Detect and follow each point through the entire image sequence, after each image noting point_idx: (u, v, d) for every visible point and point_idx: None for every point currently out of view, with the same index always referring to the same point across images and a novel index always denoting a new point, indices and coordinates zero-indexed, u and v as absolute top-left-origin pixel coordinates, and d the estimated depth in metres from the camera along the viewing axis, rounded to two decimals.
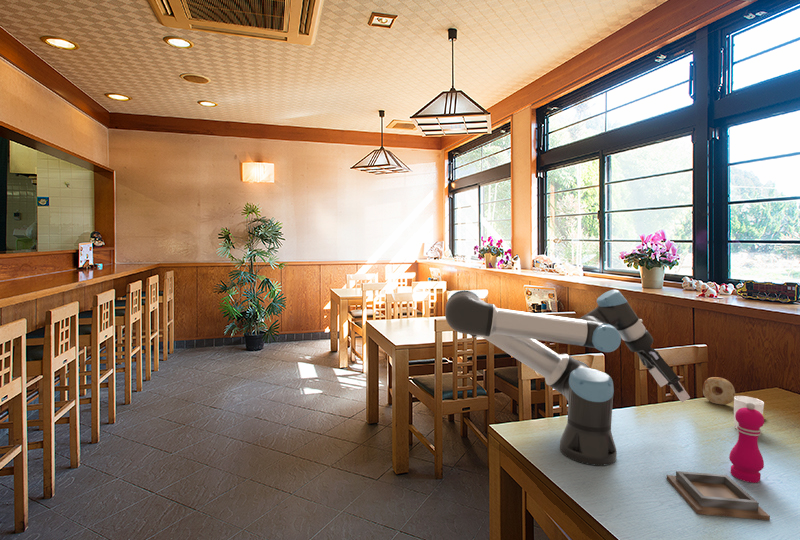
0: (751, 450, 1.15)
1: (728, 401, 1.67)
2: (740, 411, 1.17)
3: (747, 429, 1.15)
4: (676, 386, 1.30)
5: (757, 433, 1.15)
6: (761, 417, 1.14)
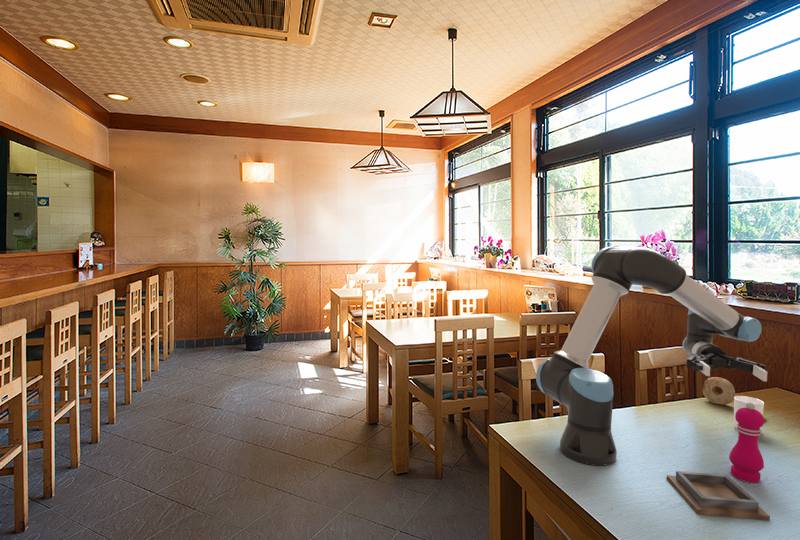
0: (751, 450, 1.15)
1: (728, 401, 1.67)
2: (740, 411, 1.17)
3: (747, 429, 1.15)
4: None
5: (757, 433, 1.15)
6: (761, 417, 1.14)
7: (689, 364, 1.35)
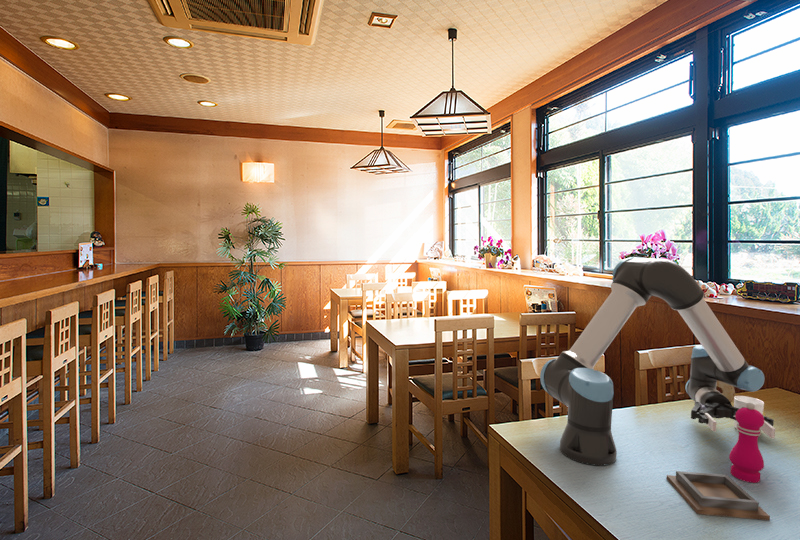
0: (751, 450, 1.15)
1: None
2: (740, 411, 1.17)
3: (747, 429, 1.15)
4: None
5: (757, 433, 1.15)
6: (761, 417, 1.14)
7: (694, 415, 1.31)
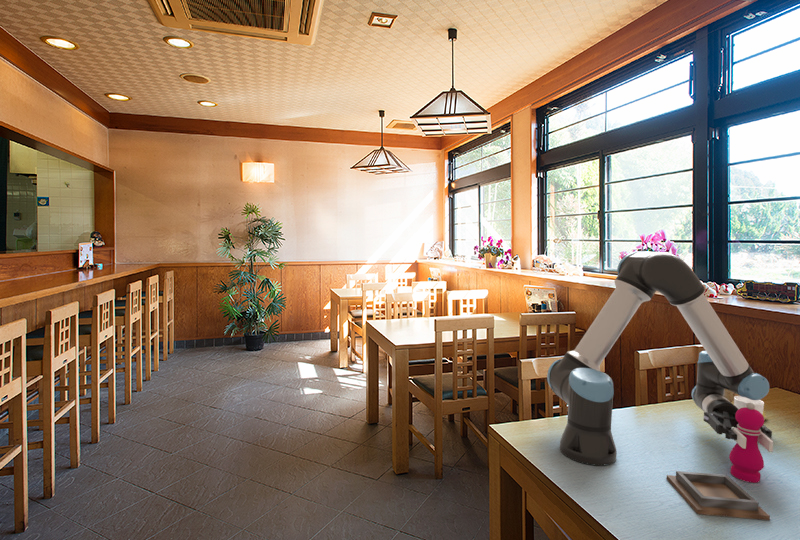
0: (751, 450, 1.15)
1: None
2: (740, 411, 1.17)
3: (747, 429, 1.15)
4: None
5: (757, 433, 1.15)
6: (761, 417, 1.14)
7: (721, 430, 1.20)
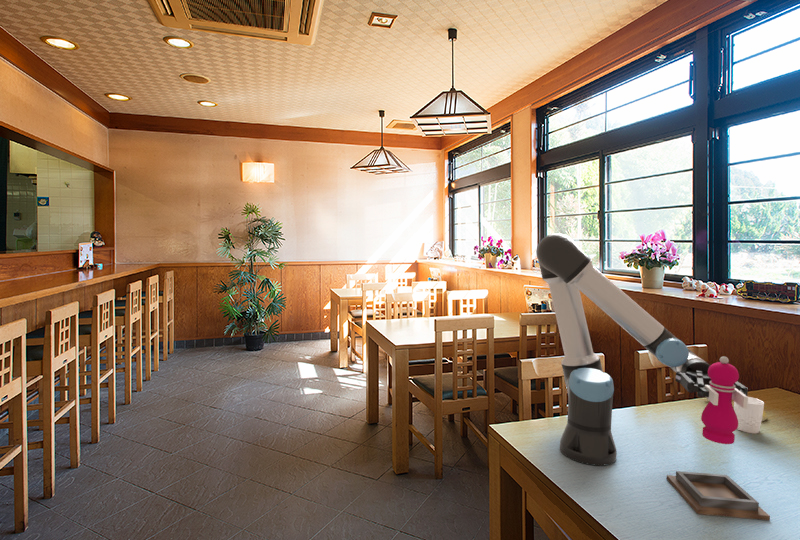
0: (724, 409, 1.04)
1: None
2: (713, 366, 1.06)
3: (720, 385, 1.04)
4: None
5: (731, 389, 1.04)
6: (735, 371, 1.03)
7: (693, 388, 1.09)
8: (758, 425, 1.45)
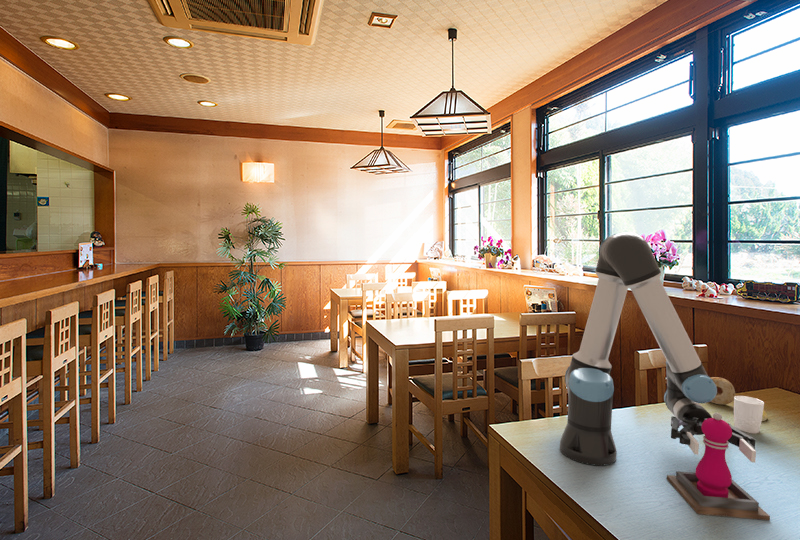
0: (718, 465, 1.05)
1: (728, 401, 1.67)
2: (706, 422, 1.07)
3: (713, 442, 1.05)
4: None
5: (724, 446, 1.05)
6: (728, 429, 1.04)
7: (675, 435, 1.12)
8: (758, 425, 1.45)
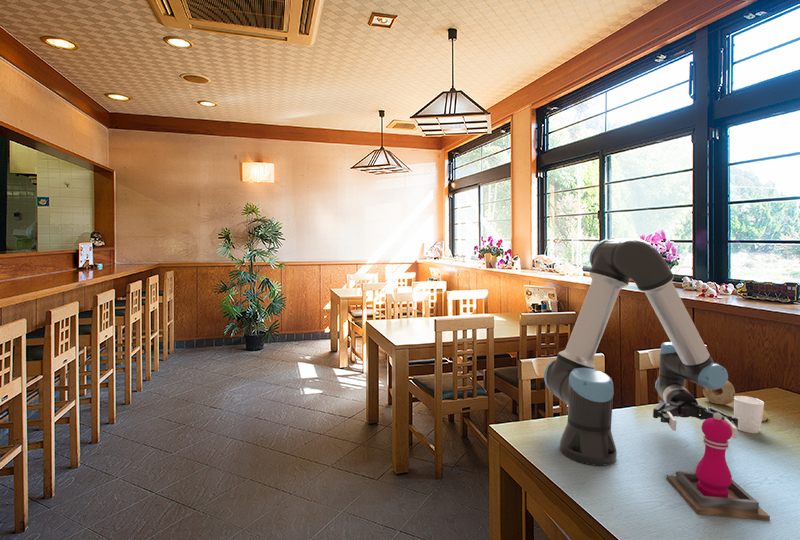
0: (718, 465, 1.05)
1: (728, 401, 1.67)
2: (706, 422, 1.07)
3: (713, 442, 1.05)
4: None
5: (724, 446, 1.05)
6: (728, 429, 1.04)
7: (656, 414, 1.25)
8: (758, 425, 1.45)
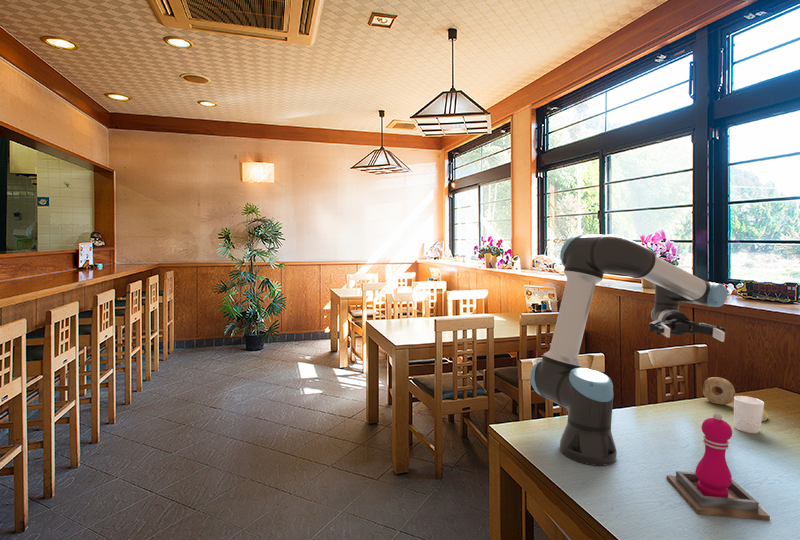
0: (718, 465, 1.05)
1: (728, 401, 1.67)
2: (706, 422, 1.07)
3: (713, 442, 1.05)
4: None
5: (724, 446, 1.05)
6: (728, 429, 1.04)
7: (652, 328, 1.38)
8: (758, 425, 1.45)
